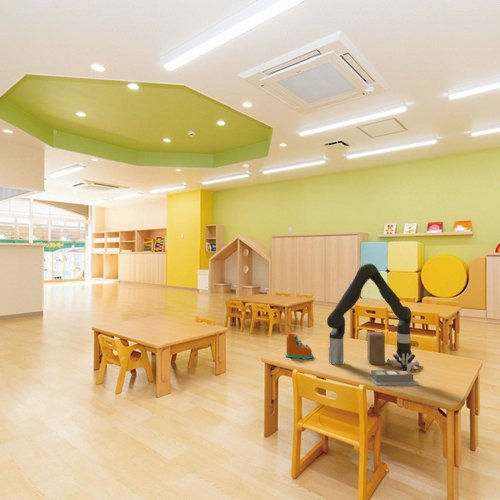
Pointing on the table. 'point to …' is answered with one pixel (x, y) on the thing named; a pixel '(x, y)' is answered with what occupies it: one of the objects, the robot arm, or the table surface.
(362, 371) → the table surface
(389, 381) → the keypad board
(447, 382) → the table surface
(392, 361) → the yeti figurine
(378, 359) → the wooden block
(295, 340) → the toy shoe
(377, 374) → the key sage
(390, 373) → the key grey
